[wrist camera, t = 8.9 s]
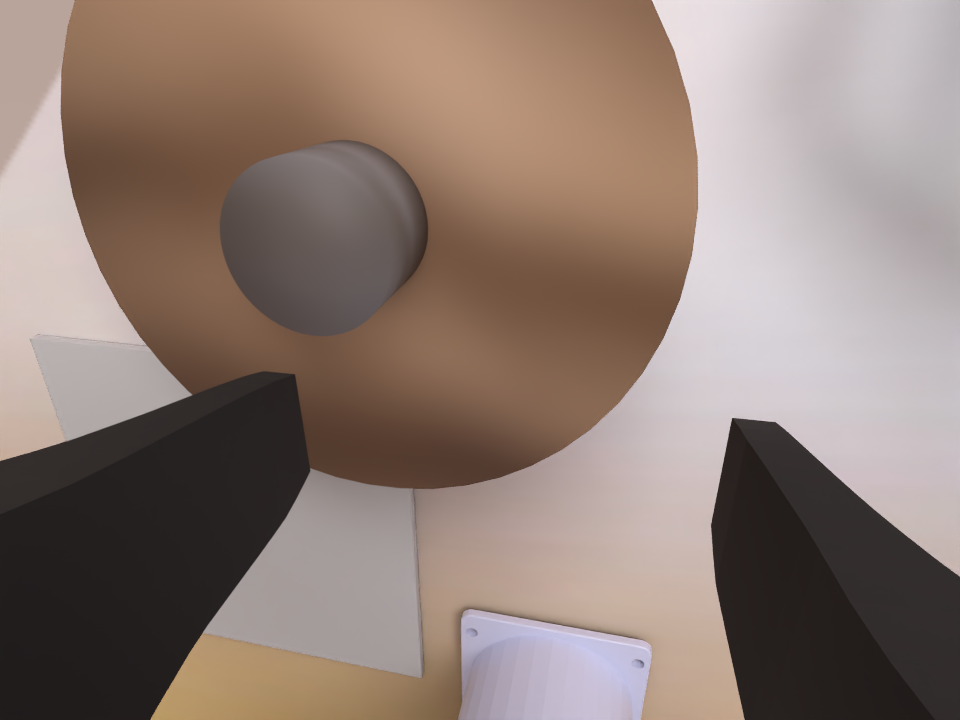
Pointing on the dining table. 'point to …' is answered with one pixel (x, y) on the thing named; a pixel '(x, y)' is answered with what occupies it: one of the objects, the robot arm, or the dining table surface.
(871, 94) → the dining table surface
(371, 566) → the grey mat
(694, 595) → the dining table surface
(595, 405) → the walnut lid
